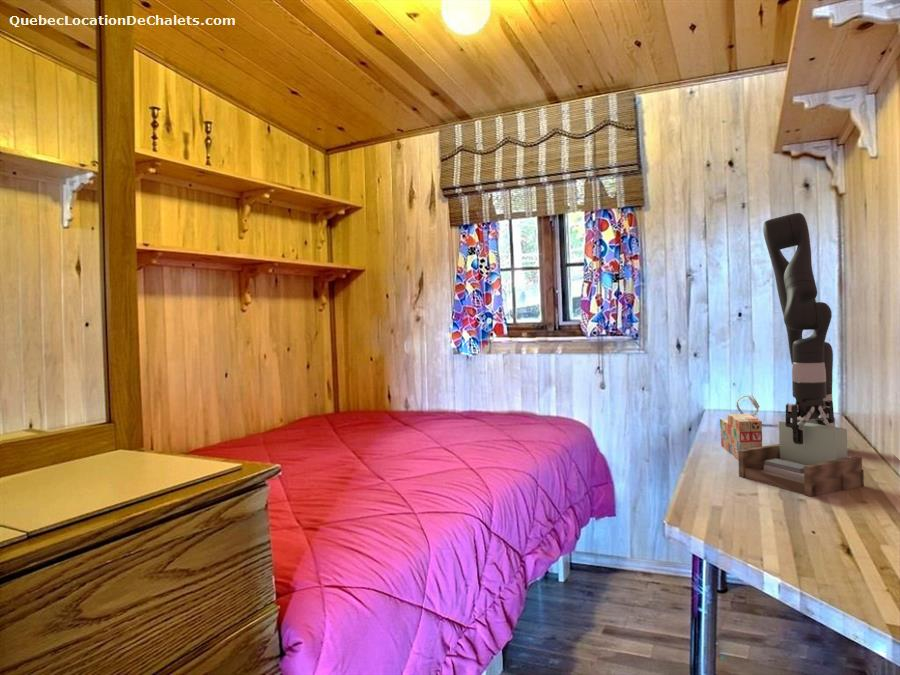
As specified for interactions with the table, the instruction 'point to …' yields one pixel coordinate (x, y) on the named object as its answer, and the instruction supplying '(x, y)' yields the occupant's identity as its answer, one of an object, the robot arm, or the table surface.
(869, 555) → the table surface
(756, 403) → the watch
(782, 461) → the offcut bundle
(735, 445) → the stack of blocks
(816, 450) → the tall sheet
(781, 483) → the rack
